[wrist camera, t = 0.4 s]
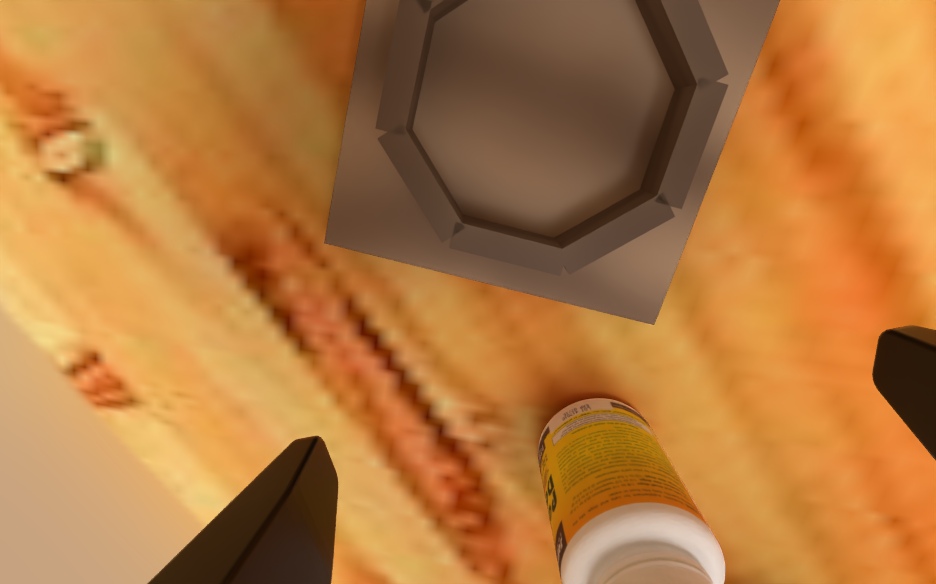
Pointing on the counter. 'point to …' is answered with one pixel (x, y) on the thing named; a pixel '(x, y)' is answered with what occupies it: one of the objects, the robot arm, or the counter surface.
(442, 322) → the counter surface
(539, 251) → the walnut stand
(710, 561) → the supplement bottle
